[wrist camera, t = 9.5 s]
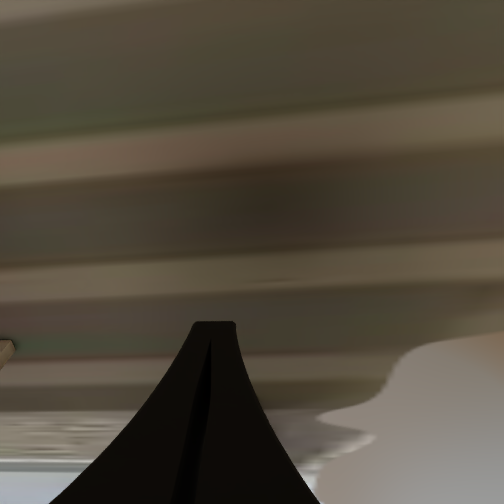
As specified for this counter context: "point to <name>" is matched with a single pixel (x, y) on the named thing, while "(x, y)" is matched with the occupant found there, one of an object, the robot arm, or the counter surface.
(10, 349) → the bracket
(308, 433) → the counter surface
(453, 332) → the counter surface
